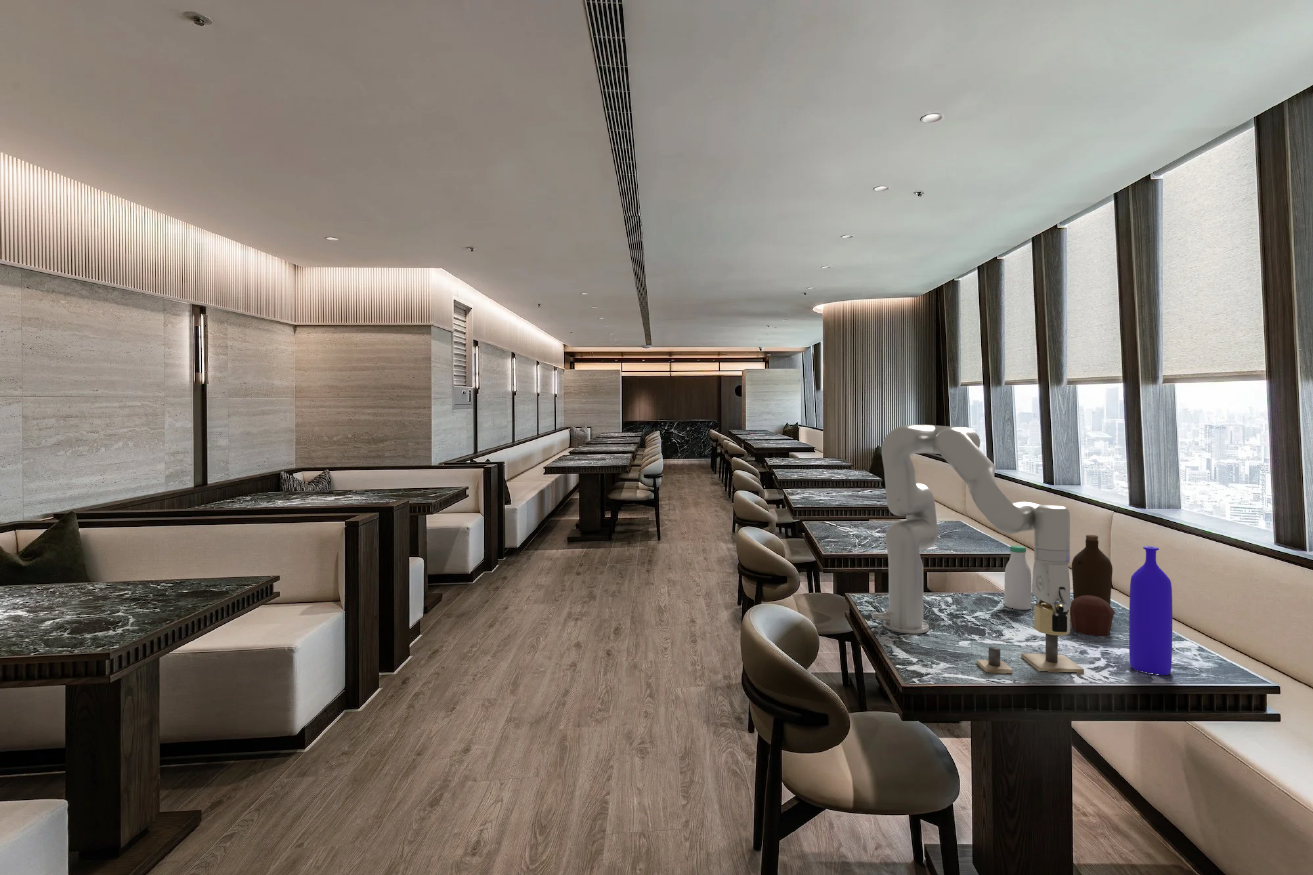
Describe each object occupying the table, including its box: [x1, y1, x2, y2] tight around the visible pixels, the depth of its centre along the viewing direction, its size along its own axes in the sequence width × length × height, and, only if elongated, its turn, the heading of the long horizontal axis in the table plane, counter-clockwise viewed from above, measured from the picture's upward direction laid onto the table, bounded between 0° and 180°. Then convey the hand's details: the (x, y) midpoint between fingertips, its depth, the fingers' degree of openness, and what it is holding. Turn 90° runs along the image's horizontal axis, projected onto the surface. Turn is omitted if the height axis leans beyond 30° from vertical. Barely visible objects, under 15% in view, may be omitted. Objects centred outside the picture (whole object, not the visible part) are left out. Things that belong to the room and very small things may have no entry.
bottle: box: [1128, 545, 1173, 676], centre depth 156 cm, size 8×8×30 cm
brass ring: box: [1033, 603, 1071, 637], centre depth 159 cm, size 7×7×6 cm
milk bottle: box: [1004, 545, 1033, 611], centre depth 210 cm, size 8×8×20 cm
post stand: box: [1020, 634, 1085, 674], centre depth 159 cm, size 10×10×8 cm
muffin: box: [1069, 595, 1116, 637], centre depth 185 cm, size 12×11×10 cm
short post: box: [976, 646, 1014, 674], centre depth 157 cm, size 6×6×5 cm
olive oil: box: [1071, 534, 1114, 606], centre depth 201 cm, size 11×11×25 cm
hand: (1051, 626), depth 159 cm, fingers closed on brass ring, 7 cm apart
